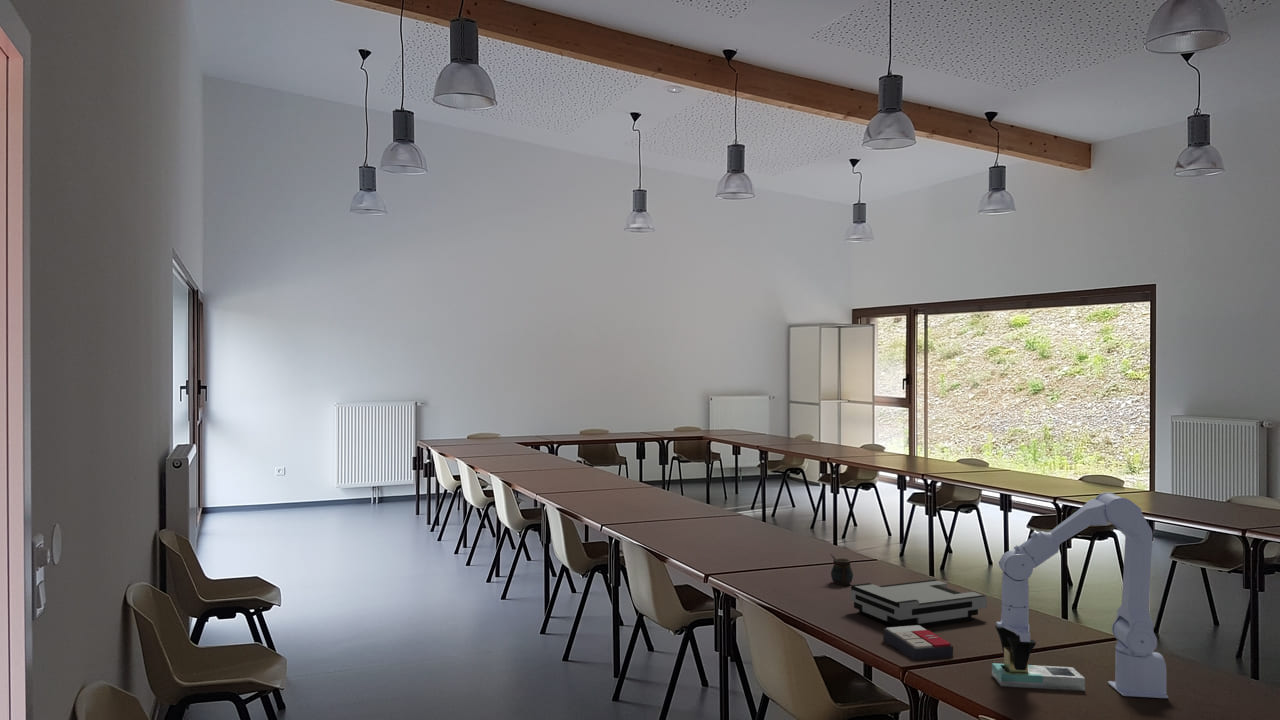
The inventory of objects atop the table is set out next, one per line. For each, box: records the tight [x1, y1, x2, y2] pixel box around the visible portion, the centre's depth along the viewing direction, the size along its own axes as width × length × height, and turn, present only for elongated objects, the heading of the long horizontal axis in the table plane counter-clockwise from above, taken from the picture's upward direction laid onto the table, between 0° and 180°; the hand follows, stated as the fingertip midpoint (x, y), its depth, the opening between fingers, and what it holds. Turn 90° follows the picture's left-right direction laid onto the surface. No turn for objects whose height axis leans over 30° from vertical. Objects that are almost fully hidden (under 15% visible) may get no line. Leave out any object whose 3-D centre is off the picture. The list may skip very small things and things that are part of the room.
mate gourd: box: [829, 553, 854, 586], centre depth 281 cm, size 7×8×10 cm
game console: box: [850, 579, 988, 629], centre depth 245 cm, size 21×32×8 cm, turn 114°
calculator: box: [882, 625, 954, 661], centre depth 216 cm, size 11×4×15 cm
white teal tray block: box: [991, 662, 1086, 692], centre depth 193 cm, size 18×7×3 cm, turn 83°
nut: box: [1003, 647, 1029, 674], centre depth 193 cm, size 4×4×6 cm
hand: (1014, 663), depth 193 cm, fingers open, 7 cm apart
